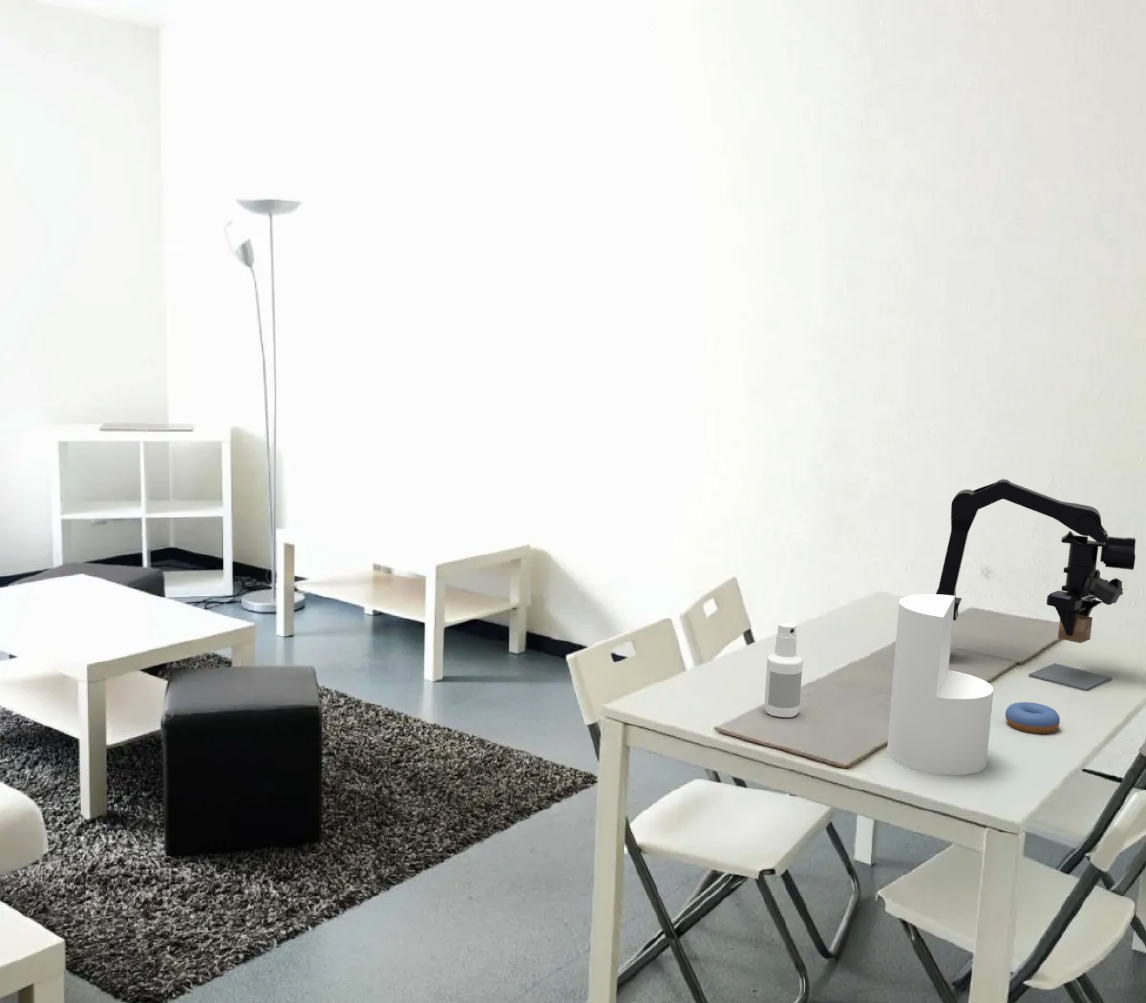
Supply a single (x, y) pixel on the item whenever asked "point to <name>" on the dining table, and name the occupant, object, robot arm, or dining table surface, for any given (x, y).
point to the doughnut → (1032, 717)
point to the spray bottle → (784, 674)
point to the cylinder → (935, 695)
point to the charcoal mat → (1070, 676)
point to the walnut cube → (1078, 630)
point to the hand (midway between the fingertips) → (1074, 633)
